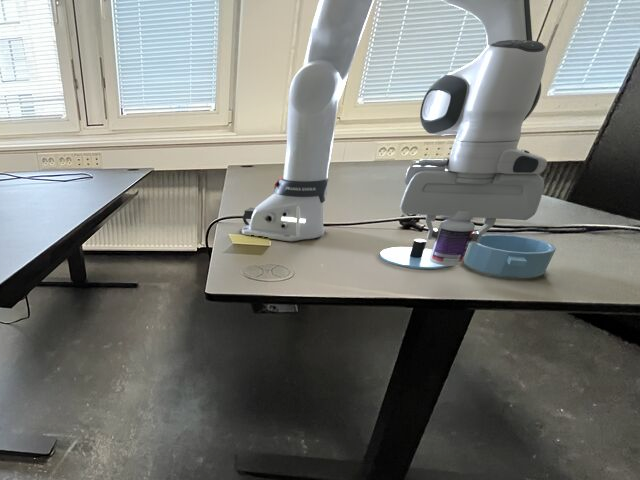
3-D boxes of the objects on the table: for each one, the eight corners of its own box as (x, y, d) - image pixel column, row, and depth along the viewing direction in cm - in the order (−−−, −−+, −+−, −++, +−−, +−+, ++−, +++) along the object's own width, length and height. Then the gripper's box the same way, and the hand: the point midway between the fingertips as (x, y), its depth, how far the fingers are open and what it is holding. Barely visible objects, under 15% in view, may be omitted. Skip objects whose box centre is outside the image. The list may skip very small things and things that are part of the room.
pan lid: (377, 267, 89) (382, 246, 86) (381, 248, 99) (386, 229, 97) (453, 275, 83) (461, 253, 80) (449, 255, 93) (456, 235, 91)
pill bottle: (466, 266, 76) (486, 212, 70) (434, 266, 77) (452, 213, 71) (454, 257, 80) (472, 206, 75) (424, 257, 81) (440, 206, 76)
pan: (467, 279, 81) (477, 253, 78) (460, 252, 95) (468, 229, 92) (553, 288, 75) (567, 261, 72) (532, 258, 89) (543, 234, 86)
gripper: (409, 161, 71) (389, 240, 78) (561, 162, 62) (522, 250, 70) (410, 157, 76) (391, 232, 83) (550, 157, 67) (515, 240, 74)
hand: (452, 240), depth 76 cm, fingers closed on pill bottle, 5 cm apart
